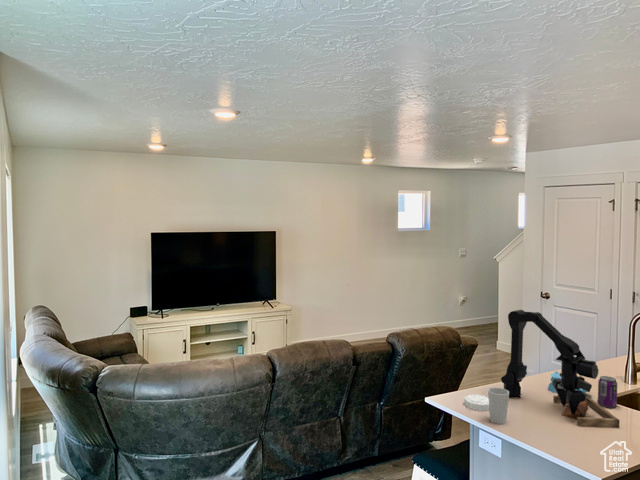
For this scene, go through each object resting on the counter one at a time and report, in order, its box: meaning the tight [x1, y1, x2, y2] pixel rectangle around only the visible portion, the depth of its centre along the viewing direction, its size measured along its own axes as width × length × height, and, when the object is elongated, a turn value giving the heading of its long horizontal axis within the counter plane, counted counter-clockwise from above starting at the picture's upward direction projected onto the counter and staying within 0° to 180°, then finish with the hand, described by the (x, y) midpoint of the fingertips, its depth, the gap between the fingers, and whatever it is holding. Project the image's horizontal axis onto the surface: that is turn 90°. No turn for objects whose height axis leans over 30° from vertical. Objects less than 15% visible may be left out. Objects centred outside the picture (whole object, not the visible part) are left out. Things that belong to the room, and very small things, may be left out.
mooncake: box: [463, 393, 489, 412], centre depth 205 cm, size 12×12×4 cm
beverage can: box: [597, 375, 618, 409], centre depth 206 cm, size 7×7×12 cm
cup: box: [487, 387, 509, 425], centre depth 189 cm, size 8×8×12 cm
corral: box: [552, 395, 620, 429], centre depth 196 cm, size 15×25×3 cm, turn 175°
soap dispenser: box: [547, 371, 593, 395], centre depth 220 cm, size 18×10×9 cm, turn 53°
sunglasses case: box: [560, 401, 589, 420], centre depth 199 cm, size 18×7×7 cm, turn 146°
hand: (568, 409), depth 196 cm, fingers open, 9 cm apart
